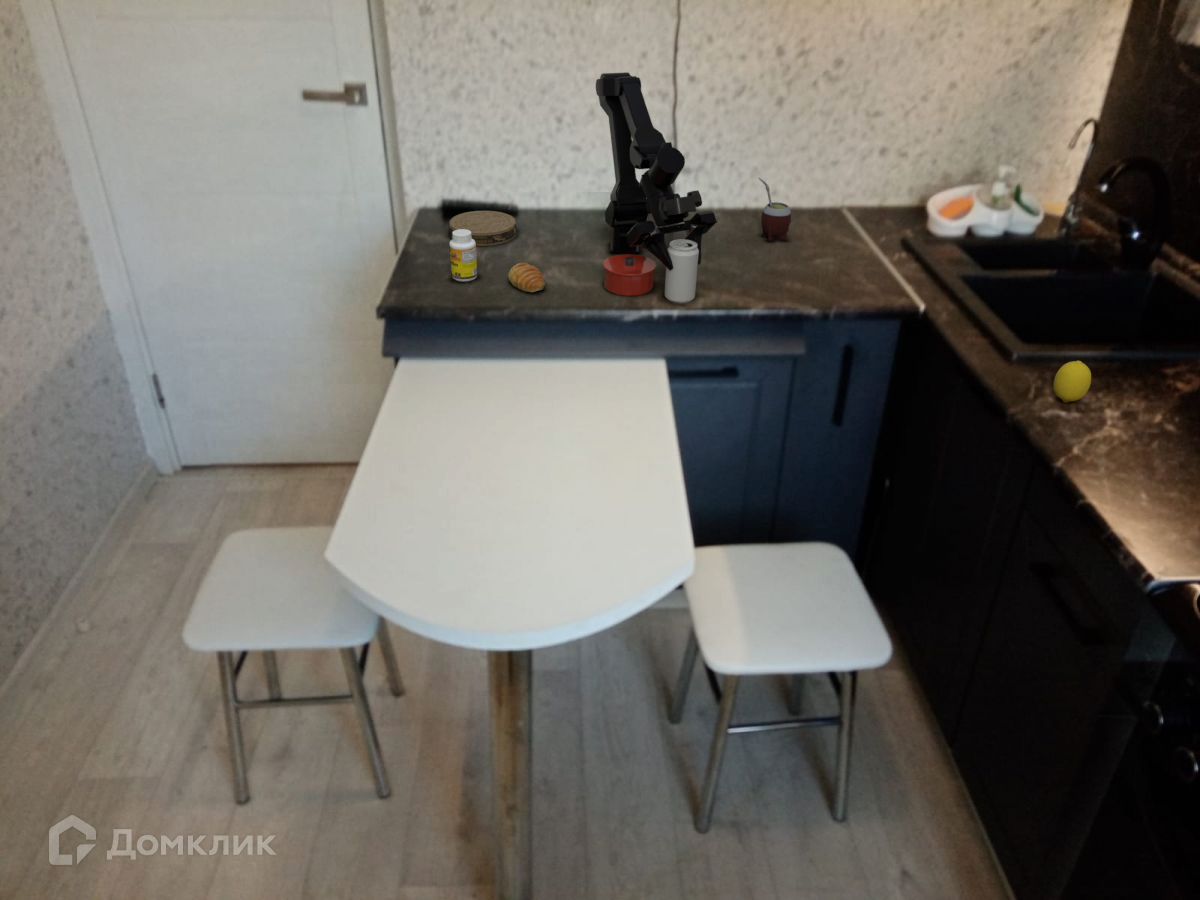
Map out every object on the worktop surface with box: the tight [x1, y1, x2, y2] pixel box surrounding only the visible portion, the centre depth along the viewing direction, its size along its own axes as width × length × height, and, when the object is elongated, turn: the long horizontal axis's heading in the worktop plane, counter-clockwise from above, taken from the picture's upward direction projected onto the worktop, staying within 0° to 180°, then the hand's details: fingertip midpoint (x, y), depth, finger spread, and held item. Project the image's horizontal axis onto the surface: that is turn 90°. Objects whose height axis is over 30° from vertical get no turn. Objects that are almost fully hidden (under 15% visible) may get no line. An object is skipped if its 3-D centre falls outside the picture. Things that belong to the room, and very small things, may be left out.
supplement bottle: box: [448, 229, 478, 283], centre depth 195 cm, size 6×6×10 cm
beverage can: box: [664, 238, 699, 304], centre depth 187 cm, size 6×6×12 cm
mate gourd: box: [758, 177, 792, 243], centre depth 217 cm, size 8×8×15 cm
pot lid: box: [602, 253, 657, 276], centre depth 193 cm, size 11×11×2 cm
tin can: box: [449, 210, 517, 247], centre depth 219 cm, size 16×16×3 cm
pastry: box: [507, 262, 546, 293], centre depth 193 cm, size 9×7×4 cm
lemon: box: [1052, 360, 1092, 403], centre depth 155 cm, size 6×6×8 cm
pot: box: [603, 267, 655, 296], centre depth 194 cm, size 10×10×4 cm
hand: (685, 266), depth 185 cm, fingers closed on beverage can, 6 cm apart
